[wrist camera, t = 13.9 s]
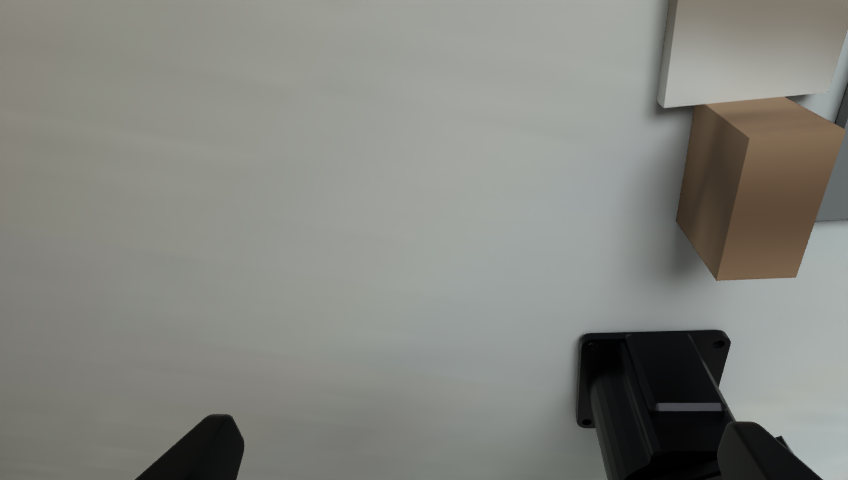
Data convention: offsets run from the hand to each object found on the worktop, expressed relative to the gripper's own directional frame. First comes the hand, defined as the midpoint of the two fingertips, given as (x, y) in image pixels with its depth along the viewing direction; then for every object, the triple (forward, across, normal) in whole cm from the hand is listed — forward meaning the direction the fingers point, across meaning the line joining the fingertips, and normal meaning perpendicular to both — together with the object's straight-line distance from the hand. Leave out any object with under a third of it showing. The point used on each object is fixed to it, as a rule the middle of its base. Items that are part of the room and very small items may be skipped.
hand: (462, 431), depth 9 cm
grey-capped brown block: (+12, -9, -2) cm, 15 cm away
